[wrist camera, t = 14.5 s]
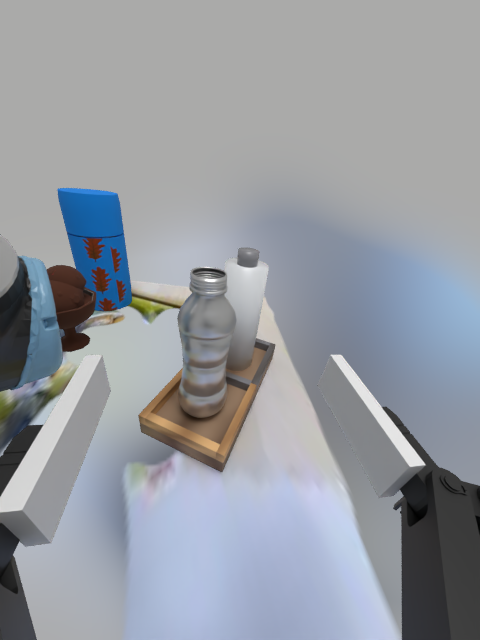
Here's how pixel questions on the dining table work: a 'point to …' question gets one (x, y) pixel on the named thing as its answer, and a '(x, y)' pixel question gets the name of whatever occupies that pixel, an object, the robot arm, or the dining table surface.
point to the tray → (211, 432)
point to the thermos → (98, 244)
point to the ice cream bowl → (71, 304)
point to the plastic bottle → (205, 342)
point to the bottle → (245, 304)
